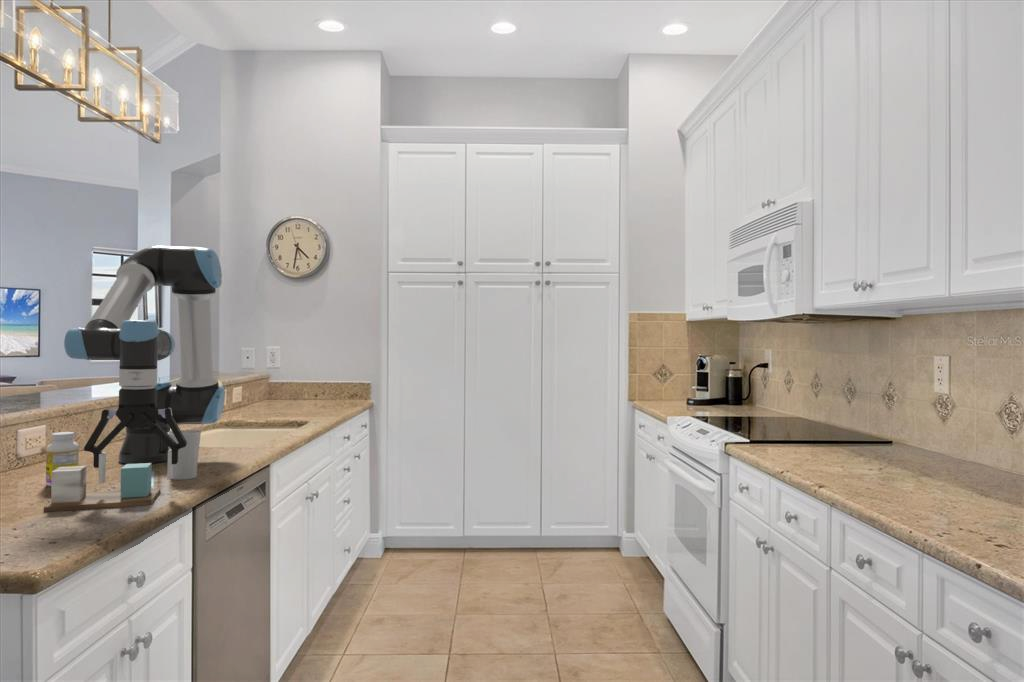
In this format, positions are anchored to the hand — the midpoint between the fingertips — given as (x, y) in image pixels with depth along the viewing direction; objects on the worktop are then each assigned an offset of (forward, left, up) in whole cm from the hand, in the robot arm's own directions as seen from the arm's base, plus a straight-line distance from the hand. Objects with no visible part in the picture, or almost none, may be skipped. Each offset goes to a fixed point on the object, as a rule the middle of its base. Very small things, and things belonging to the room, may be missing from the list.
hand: (136, 480), depth 144 cm
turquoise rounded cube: (0, 0, -3) cm, 3 cm away
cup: (-23, +7, -5) cm, 24 cm away
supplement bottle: (-22, -20, -5) cm, 30 cm away
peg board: (0, -6, -4) cm, 7 cm away
